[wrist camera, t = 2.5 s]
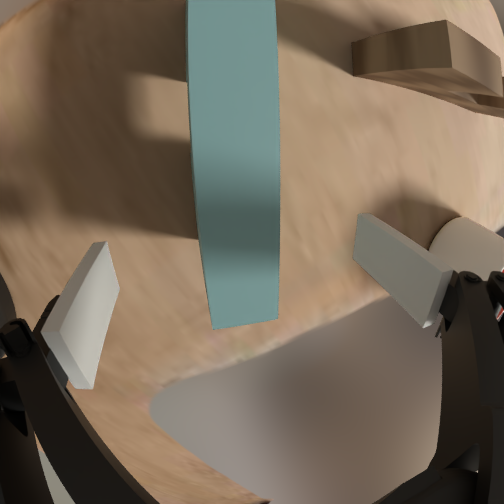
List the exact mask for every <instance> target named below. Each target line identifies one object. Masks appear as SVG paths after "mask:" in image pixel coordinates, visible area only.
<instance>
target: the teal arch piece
mask: <svg viewBox="0 0 504 504" xmlns="http://www.w3.org/2000/svg"><path fill="white" fill-rule="evenodd" d="M185 35H186V82H187V86H188V109H189V128H190V143H191V153H190V156H191V169H192V181H193V192H194V202H195V212H196V222H197V231H198V239H199V247H200V254H201V261H202V267H203V274H204V280H205V287H206V293H207V299H208V305H209V311H210V316H211V322H212V328H213V330H215V329H222V328H228V327H235V326H241V325H247V324H253V323H258V322H264V321H270V320H275V319H278V301H279V259H280V116H279V77H278V49H277V27H276V8H275V0H186V26H185Z"/></svg>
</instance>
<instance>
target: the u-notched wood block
mask: <svg viewBox="0 0 504 504" xmlns="http://www.w3.org/2000/svg"><path fill="white" fill-rule="evenodd" d="M352 58H353V76H356V77H361V78H366V79H371V80H375V81H380V82H384V83H388V84H392V85H396V86H400V87H404V88H407V89H411V90H414V91H417V92H421V93H424V94H427V95H430V96H433V97H436V98H439V99H442V100H445V101H447V102H450V103H453V104H455V105H458V106H460V107H463V108H465V109H468V110H470V111H473V112H475V113H481V114H486V115H491V116H496V117H500V118H504V77H502V71H501V61H500V57H498V56H497V55H496V54H495V53H493V52H492V51H491V50H490V49H488V48H487V47H486V46H484V45H483V44H482V43H480V42H479V41H478V40H476V39H475V38H473V37H472V36H471V35H469V34H468V33H466V32H465V31H463V30H462V29H460V28H459V27H457V26H456V25H454V24H452V23H451V22H449V21H448V20H441V21H435V22H430V23H424V24H419V25H414V26H410V27H405V28H401V29H397V30H393V31H389V32H386V33H382V34H378V35H375V36H371V37H368V38H365V39H362V40H359V41H356V42H353V43H352Z"/></svg>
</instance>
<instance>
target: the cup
mask: <svg viewBox="0 0 504 504" xmlns="http://www.w3.org/2000/svg"><path fill="white" fill-rule="evenodd" d="M429 252H430V253H432V254H433V255H435V256H436V257H437V258H439V259H440V260H442V261H443V262H444V263H446V264H447V265H449V266H450V267H451V268H453V269H454V270H455V271H456V272H457V273H459V272H461V271H469V272H473V273H475V274H476V275H478V276H480V277H481V279H482V280H483V281H488V278H489V275H490V273H491V272H492V271H501V272H503V273H504V238H502V237H501V236H499V235H497V234H496V233H494V232H492V231H490V230H489V229H487V228H485V227H483V226H482V225H480V224H478V223H476V222H474V221H472V220H471V219H469V218H465V217H459V218H455V219H453V220H451V221H449V222H448V223H447V224H445V225H444V226H443V227H442V228H441V230H440V231H439V232H438V233H437V235H436V236H435V238H434V240H433V242H432V244H431V246H430V248H429ZM503 312H504V310H503V308H501V310H500V312H499V314H498V316H497V318H496V319H498V318H499V317H500V316H501V314H502V313H503Z"/></svg>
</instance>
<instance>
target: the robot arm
mask: <svg viewBox="0 0 504 504" xmlns="http://www.w3.org/2000/svg"><path fill="white" fill-rule="evenodd" d="M353 259H354V260H355V261H356V262H357V263H358V264H359V265H360V266H361V267H362V268H363V269H364V270H365V271H367V272H368V273H369V274H370V275H371V276H372V277H373V278H374V279H375V280H376V281H377V282H378V283H379V284H380V285H381V286H382V287H383V288H384V289H385V290H386V291H387V292H388V293H389V294H390V295H391V296H392V297H393V298H394V299H395V300H396V301H397V302H398V303H399V304H400V305H401V306H402V307H403V308H404V309H405V310H406V311H407V312H408V313H409V314H410V315H411V316H412V317H413V318H414V319H415V320H416V321H417V322H418V323H419V324H420V325H421V327H423V328H424V327H427V326H429V325H432V324H434V323H435V320H436V318H437V315H438V313H439V312H440V313H441V314H442V315H443V318H442V320H441V323H440V325H439V328H438V330H437V332H436V335H435V337H437V336H438V334H439V333H440V332H441V336H440V338H442V401H441V415H440V426H439V435H438V442H437V449H436V453H435V455H434V457H433V459H432V460H431V462H430V464H429V466H428V468H427V469H426V470H425V471H423V472H422V473H420V474H418V475H417V476H415V477H413V478H412V479H410V480H408V481H406V482H405V483H403V484H401V485H400V486H398V487H397V488H396V489H394V490H393V491H391V492H390V493H388V494H387V495H385V496H384V497H382V498H381V499H379V500H377V501H376V502H374V503H372V504H504V313H503V315H502V317H501V319H500V321H499V322H498V321H497V319H496V318H497V316H498V314H499V312H500V310H501V308H503V310H504V273H503V272H501V271H492V272H491V273H490V275H489V278H488V281H483V280H482V279H481V277H480V276H478V275H476V274H475V273H473V272H469V271H461V272H459V273H457V272H456V271H455V270H454V269H453V268H451V267H450V266H449V265H447V264H446V263H444V262H443V261H442V260H440V259H439V258H437V257H436V256H435V255H433V254H432V253H430V252H429V251H427V250H426V249H425V248H423V247H422V246H420V245H419V244H417V243H416V242H414V241H413V240H411V239H410V238H408V237H407V236H405V235H404V234H402V233H401V232H399V231H397V230H396V229H394V228H393V227H391V226H390V225H388V224H386V223H385V222H383V221H382V220H380V219H378V218H377V217H375V216H373V215H372V214H370V213H362V214H358V220H357V229H356V237H355V245H354V252H353ZM119 290H120V288H119V284H118V281H117V278H116V274H115V271H114V267H113V263H112V259H111V256H110V252H109V248H108V244H107V241H103V242H97V243H93V244H92V246H91V247H90V249H89V250H88V252H87V253H86V255H85V256H84V258H83V259H82V261H81V262H80V264H79V265H78V267H77V268H76V270H75V272H74V273H73V275H72V276H71V278H70V280H69V281H68V283H67V285H66V286H65V288H64V290H63V291H62V293H61V295H56V296H55V297H54V298H53V299H52V300H51V301H50V302H49V303H48V305H47V306H46V308H45V310H44V312H43V313H42V315H41V319H39V321H38V323H37V324H36V326H35V328H34V330H33V332H32V331H31V330H30V328H29V326H28V324H27V322H26V321H25V320H24V319H21V318H18V319H17V318H16V312H15V307H14V304H13V301H12V298H11V295H10V292H9V290H8V288H7V285H6V283H5V281H4V279H3V277H2V275H1V274H0V504H54V502H53V499H52V497H51V494H50V491H49V488H48V485H47V482H46V478H45V476H44V472H43V468H42V465H41V461H40V457H39V453H38V448H37V444H36V439H35V434H36V436H37V438H38V440H39V442H40V444H41V446H42V448H43V450H44V452H45V454H46V456H47V458H48V460H49V462H50V463H51V465H52V467H53V469H54V470H55V472H56V474H57V476H58V477H59V479H60V481H61V482H62V484H63V486H64V487H65V489H66V490H67V492H68V493H69V495H70V496H71V498H72V499H73V501H74V502H75V504H160V503H159V502H158V501H156V500H155V499H154V498H153V497H152V496H151V495H150V494H149V493H148V492H147V491H146V490H145V489H144V488H143V487H142V486H141V485H140V484H139V483H138V482H137V481H136V479H135V478H134V477H133V476H132V475H131V474H130V473H129V472H128V471H127V470H126V468H125V467H124V466H123V465H122V464H121V463H120V462H119V460H118V459H117V458H116V457H115V456H114V454H113V453H112V452H111V451H110V449H109V448H108V447H107V446H106V444H105V443H104V442H103V440H102V439H101V438H100V437H99V435H98V434H97V432H96V431H95V430H94V428H93V427H92V426H91V424H90V423H89V421H88V420H87V418H86V417H85V415H84V414H83V412H82V411H81V409H80V408H79V406H78V405H77V403H76V402H75V400H74V398H73V397H72V395H71V393H70V392H69V390H68V389H67V388H66V385H67V381H68V379H69V380H70V382H71V383H72V385H73V386H74V388H75V389H93V385H94V381H95V376H96V372H97V367H98V363H99V359H100V355H101V351H102V347H103V343H104V340H105V336H106V332H107V329H108V325H109V322H110V319H111V315H112V312H113V309H114V305H115V302H116V299H117V296H118V293H119ZM5 354H6V355H7V357H6V358H2V357H3V356H4V355H5ZM1 358H2V359H1ZM34 431H35V434H34ZM477 470H478V473H477V472H476V471H477Z"/></svg>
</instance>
